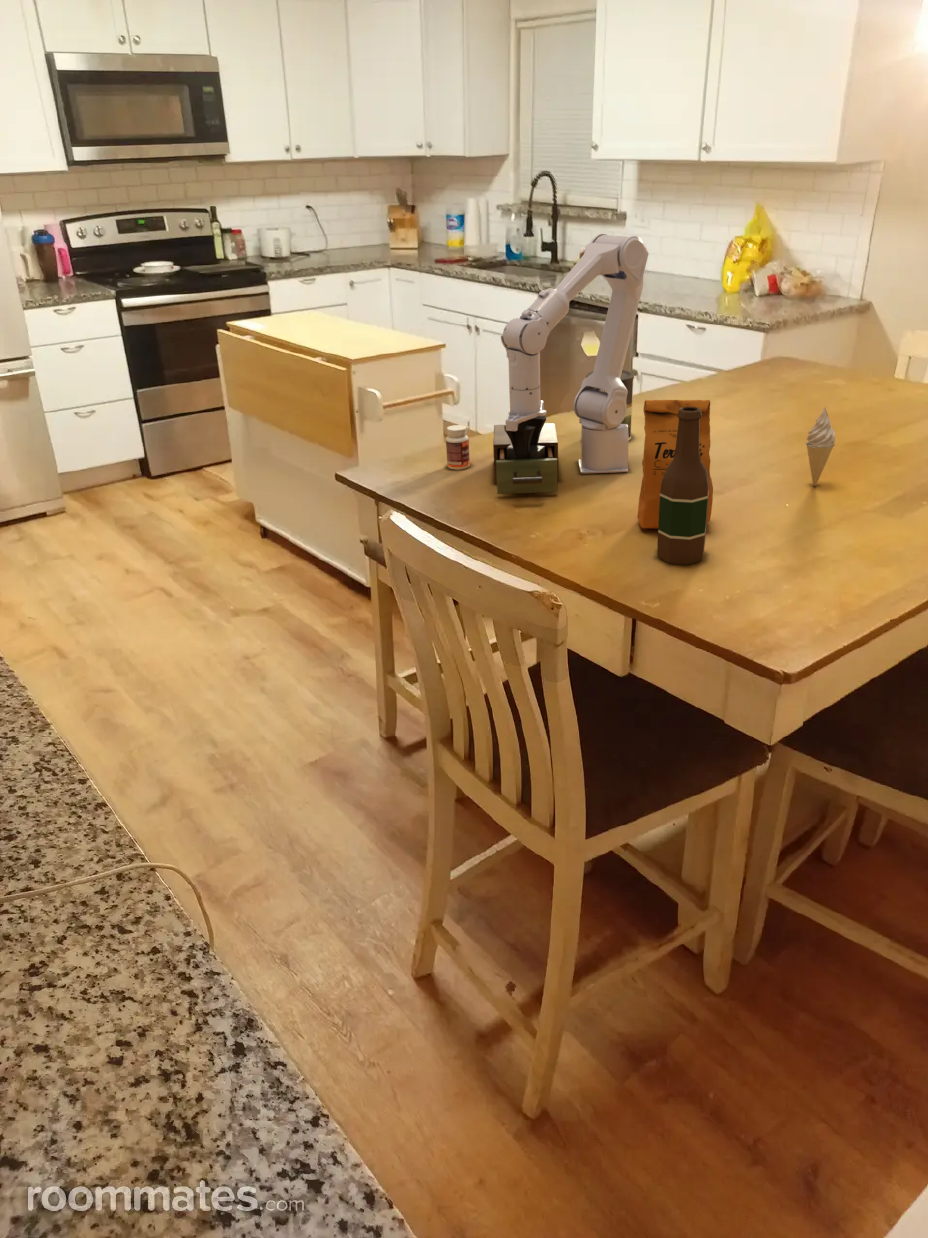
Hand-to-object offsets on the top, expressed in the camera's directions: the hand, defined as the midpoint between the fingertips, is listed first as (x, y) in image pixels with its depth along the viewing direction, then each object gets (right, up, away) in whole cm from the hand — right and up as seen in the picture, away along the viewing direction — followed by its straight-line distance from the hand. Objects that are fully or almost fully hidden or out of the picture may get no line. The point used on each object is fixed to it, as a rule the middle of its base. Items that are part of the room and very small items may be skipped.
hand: (526, 457), depth 176 cm
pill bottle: (-13, +1, +18) cm, 22 cm away
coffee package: (+25, -15, -17) cm, 33 cm away
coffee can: (+21, +9, +30) cm, 37 cm away
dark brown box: (0, -1, +1) cm, 1 cm away
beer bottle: (+23, -21, -28) cm, 42 cm away
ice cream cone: (+54, -6, -3) cm, 55 cm away
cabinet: (+1, -1, +12) cm, 12 cm away
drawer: (0, -5, +2) cm, 6 cm away
